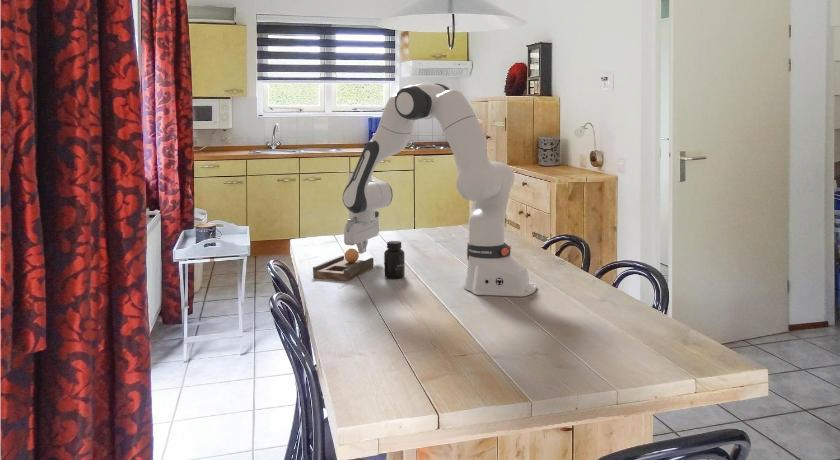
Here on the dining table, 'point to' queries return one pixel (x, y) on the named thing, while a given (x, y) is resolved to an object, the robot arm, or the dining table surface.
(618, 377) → the dining table surface
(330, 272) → the lane
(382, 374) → the dining table surface
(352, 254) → the ball
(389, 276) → the supplement bottle
